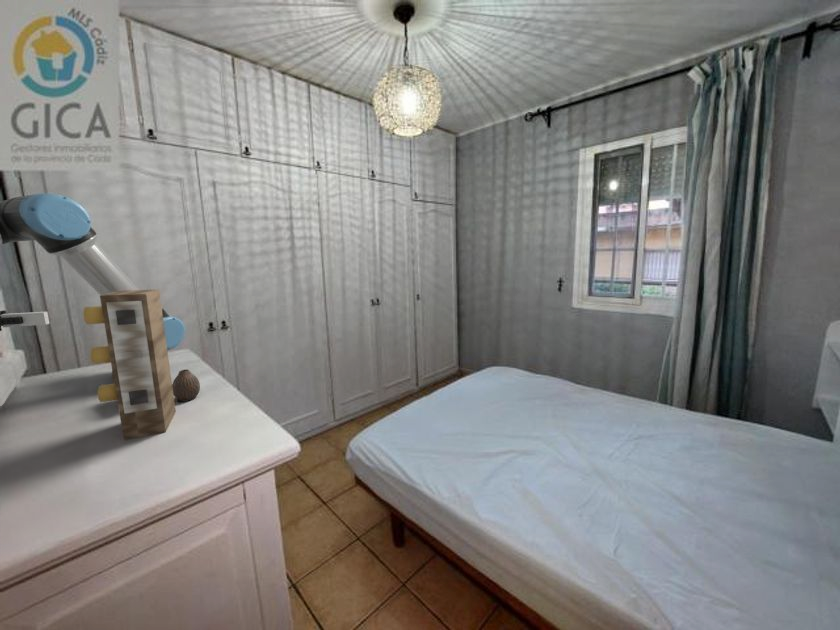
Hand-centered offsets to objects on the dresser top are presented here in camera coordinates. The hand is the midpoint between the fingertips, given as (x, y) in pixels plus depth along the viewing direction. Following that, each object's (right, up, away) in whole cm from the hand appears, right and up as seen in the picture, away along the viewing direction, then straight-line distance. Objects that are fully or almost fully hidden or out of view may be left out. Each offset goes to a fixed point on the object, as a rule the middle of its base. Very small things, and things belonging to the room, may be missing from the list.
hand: (46, 318), depth 73 cm
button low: (+8, -20, +7) cm, 23 cm away
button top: (+8, -1, +4) cm, 9 cm away
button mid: (+8, -11, +6) cm, 14 cm away
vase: (+12, -25, +28) cm, 39 cm away
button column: (+14, -27, +12) cm, 33 cm away
